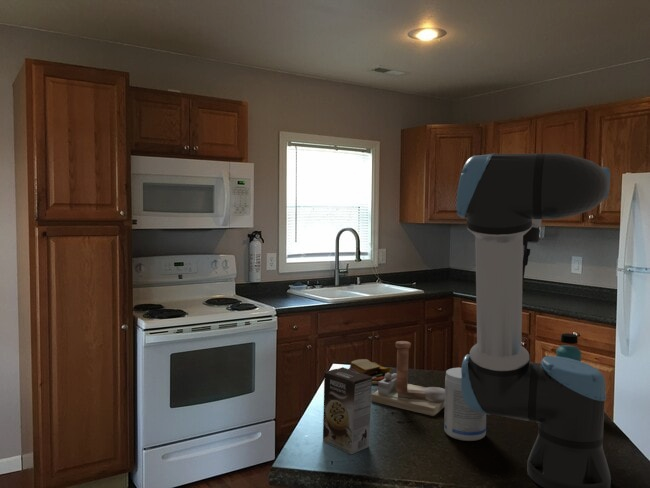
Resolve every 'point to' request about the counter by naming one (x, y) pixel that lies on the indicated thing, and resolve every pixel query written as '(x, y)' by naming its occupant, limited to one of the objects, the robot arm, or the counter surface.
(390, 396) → the stand
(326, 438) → the coffee box
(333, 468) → the counter surface
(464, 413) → the supplement tub
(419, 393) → the lever
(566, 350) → the beverage bottle
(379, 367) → the toy sandwich meal
